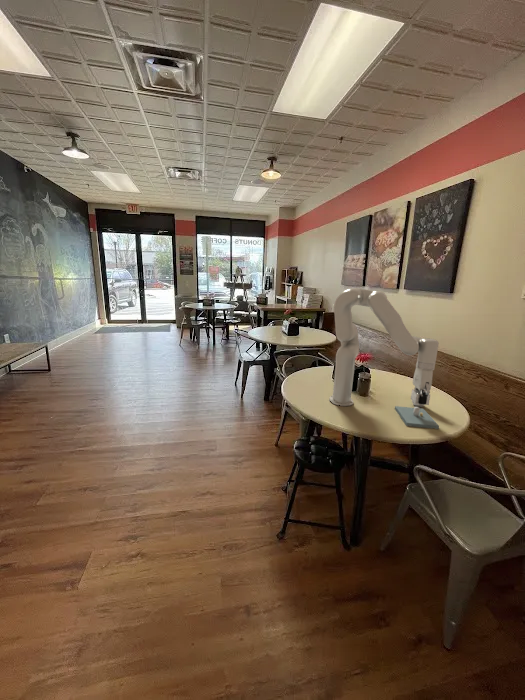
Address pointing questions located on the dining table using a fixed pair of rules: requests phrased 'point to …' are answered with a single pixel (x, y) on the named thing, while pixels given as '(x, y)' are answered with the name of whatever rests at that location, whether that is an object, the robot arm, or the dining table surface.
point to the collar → (417, 394)
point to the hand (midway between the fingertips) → (419, 400)
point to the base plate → (416, 417)
